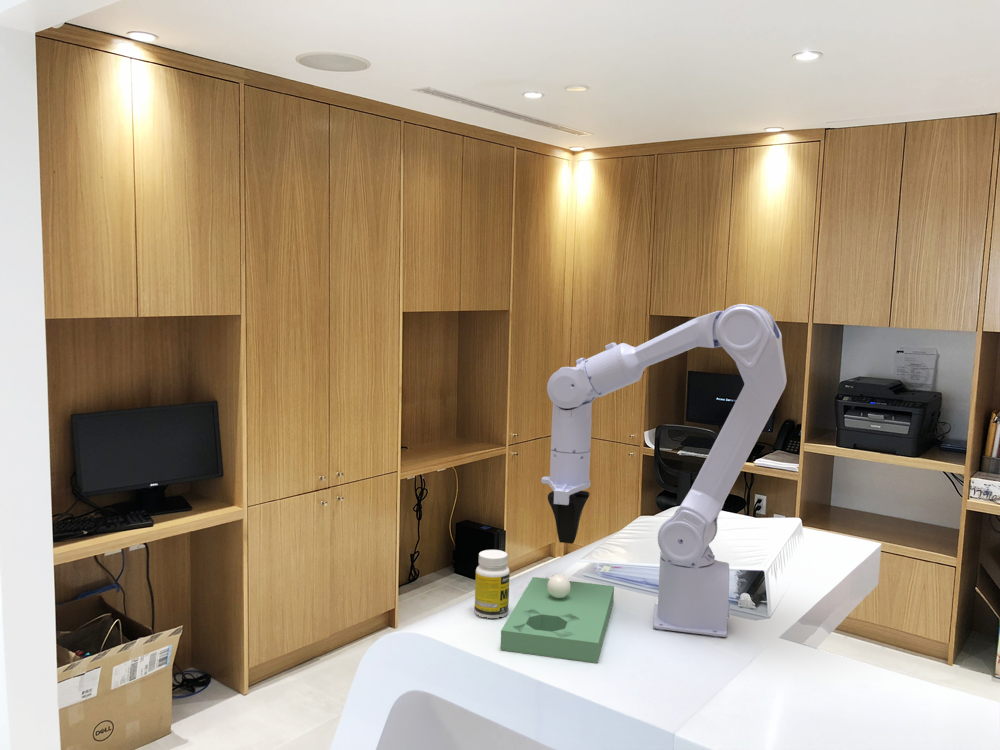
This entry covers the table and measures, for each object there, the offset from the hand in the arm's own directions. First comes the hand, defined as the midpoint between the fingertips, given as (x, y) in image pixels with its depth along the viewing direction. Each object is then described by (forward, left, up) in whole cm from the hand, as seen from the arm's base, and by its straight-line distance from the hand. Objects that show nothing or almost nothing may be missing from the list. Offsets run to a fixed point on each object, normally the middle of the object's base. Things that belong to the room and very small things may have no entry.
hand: (566, 541), depth 112 cm
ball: (0, +7, -4) cm, 8 cm away
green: (-1, +10, -8) cm, 13 cm away
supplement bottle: (+9, +9, -9) cm, 15 cm away
